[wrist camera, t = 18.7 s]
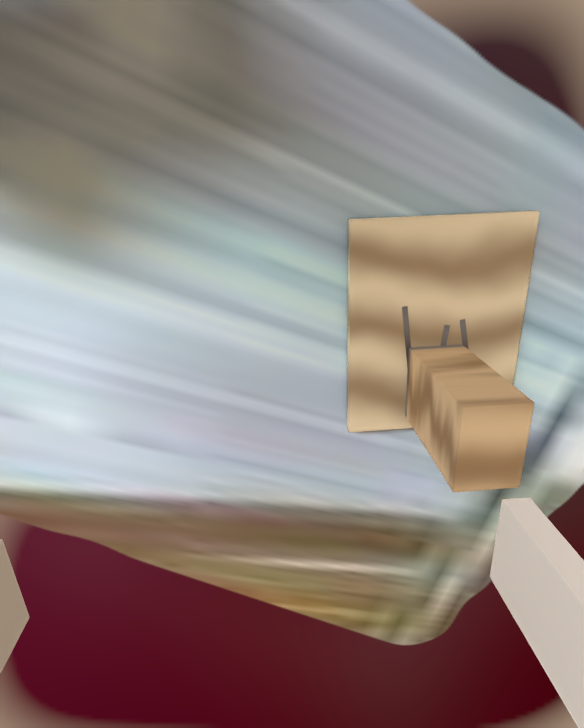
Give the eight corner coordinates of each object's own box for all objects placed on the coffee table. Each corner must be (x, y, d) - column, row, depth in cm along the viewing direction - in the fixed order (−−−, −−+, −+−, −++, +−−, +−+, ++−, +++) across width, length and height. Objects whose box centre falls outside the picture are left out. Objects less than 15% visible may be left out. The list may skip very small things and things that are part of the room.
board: (348, 219, 39) (351, 220, 38) (531, 210, 40) (540, 211, 39) (346, 426, 47) (349, 432, 45) (501, 415, 47) (507, 421, 46)
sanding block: (408, 347, 42) (462, 407, 31) (462, 344, 43) (534, 402, 32) (404, 415, 45) (453, 492, 34) (455, 411, 45) (519, 487, 34)
